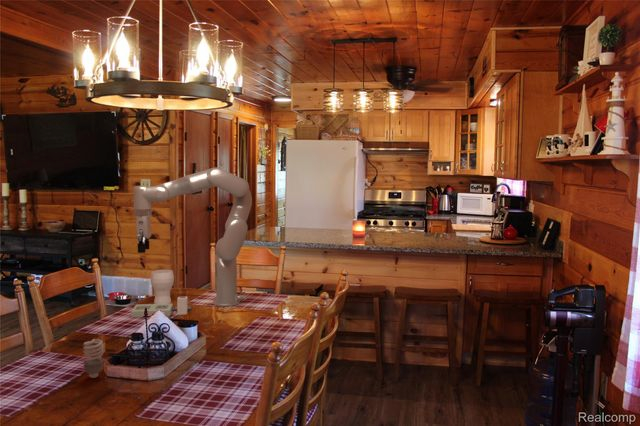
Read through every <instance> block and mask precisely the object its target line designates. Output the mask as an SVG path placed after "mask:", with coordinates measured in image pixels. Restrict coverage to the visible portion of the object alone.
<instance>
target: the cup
mask: <svg viewBox="0 0 640 426" xmlns="http://www.w3.org/2000/svg"><path fill="white" fill-rule="evenodd" d="M174 281H175V275H174V271H173V270H172V269H156V270H153V271H151V273H150V284H151V286H152V289H153V291H154V301H153V304H171V303H172V300H171V290H172V287H173V285H174Z"/></svg>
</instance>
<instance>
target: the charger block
mask: <svg viewBox="0 0 640 426" xmlns="http://www.w3.org/2000/svg"><path fill="white" fill-rule="evenodd" d="M188 300H189V299H188V296H178V297H177V303H176V304H177V306H176V307H177V311H176V312H177V316H181V315H188V307H189V305H188V303H189V302H188Z"/></svg>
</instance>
